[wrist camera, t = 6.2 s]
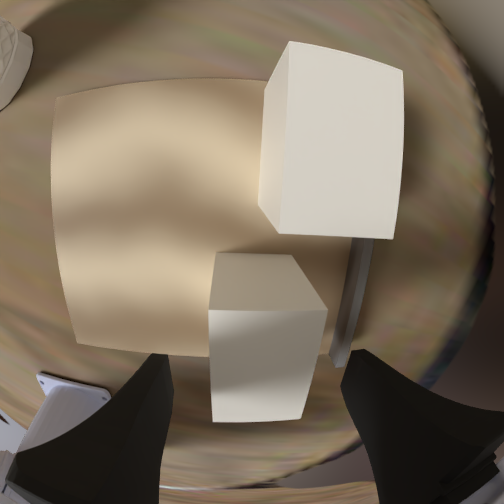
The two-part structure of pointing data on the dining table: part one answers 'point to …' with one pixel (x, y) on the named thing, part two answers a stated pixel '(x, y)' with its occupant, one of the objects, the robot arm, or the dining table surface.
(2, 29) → the white cup
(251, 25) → the dining table surface
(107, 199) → the shelf board
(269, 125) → the faced carton
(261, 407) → the carton
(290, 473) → the dining table surface
